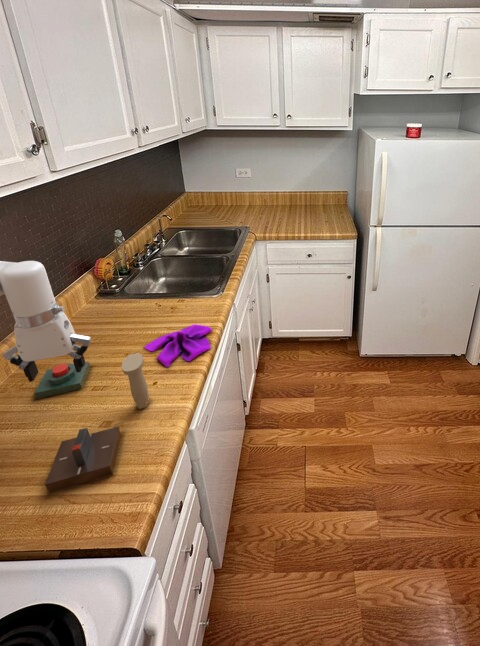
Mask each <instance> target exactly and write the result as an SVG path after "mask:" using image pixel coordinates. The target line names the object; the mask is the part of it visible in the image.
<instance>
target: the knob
mask: <svg viewBox="0 0 480 646" xmlns="http://www.w3.org/2000/svg"><path fill="white" fill-rule="evenodd" d="M90 434H91V433H90V431H89V429H88V427H84V428H80V429H78V433H77V435H76V437H75V438H76V441H75V444H74V447H73V449H72V454H73V457H74V459H75V462H76V464H77V466H78V465H81V464H85V462H86V459H87V456H88V452H89V449H90V446H91V442H92V440H91V437H90Z"/></svg>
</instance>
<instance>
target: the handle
mask: <svg viewBox="0 0 480 646" xmlns="http://www.w3.org/2000/svg"><path fill="white" fill-rule="evenodd" d="M144 364H145V359H144V355H142V353H140V352H135V353H131V354H129V355H127V356H126V357H125V358H124V359H123V360H122V362H121V371H122V373H123V374H124V375H126V376H127V377H128V382H129V388H130V393H131V396H132V399H133V402H134V404H135V406H136V407H137V408H138V409H139V410H141V409H144V408H147V406H148V405H149V404H150V396H149V395H150V393H149V387H148V384H147V381H146V378H145V374H144V371H143V366H144Z"/></svg>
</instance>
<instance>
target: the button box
mask: <svg viewBox="0 0 480 646" xmlns="http://www.w3.org/2000/svg"><path fill="white" fill-rule="evenodd" d="M66 364H67V365H68V368H69V372H68V373H66V374H65V375H63V376H61V377H54V375H53V372H52V370H53V369H54V368H49V369H46V370H45V373H44V375H43V376H42V378H41V380H40V382H39V383H38V385H37V387H36V389H35V391H34V393H33V394H34V396H35V399H36V400H38V399H42V398H47V397H51V396H56V395H60V394H66V393H69V392H74V391H79V390H82V389H83V387H84V384H85V382H86V379H87V376H88V374H89V372H90V369H91V365H90V362H89V361H85V365H84V366H83V367H82V370H81V372H79V373H77V372H76V369H75V366H74V363H71V362H68V363H66Z"/></svg>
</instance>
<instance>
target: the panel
mask: <svg viewBox="0 0 480 646" xmlns="http://www.w3.org/2000/svg"><path fill="white" fill-rule="evenodd" d="M89 434H90V437H91V440H92V442H91V446H90V449H89V452H88V456H87V459H86V462H85V464H81V465H78V466H77V464H76V462H75V459H74V457H73V454H72V449H73V447H74V444H75V441H76V438H77V437H73V438H69V439H66V440H62V441H61V442H60V444H59V447H58V450H57V452H56V455H55V457H54V460H53V463H52V465H51V467H50V471H49V473H48V476H47V478H46V481H45V483H44V486H45V488H46V490H47V492H48V494H52V493H56V492H59V491H62V490H65V489H69V488H72V487H76V486H80V485H82V484H85V483H86V484H87V483H89V482H93V481H97V480H98V479H99V480H100V479H102V478H106V477H110V476H112V475H113V474H114V470H115V466H116V461H117V456H118V452H119V447H120V442H121V438H122V433H121V429H120V426H114V427H111V428H107V429H103V430H100V431H96V432H91V433H89Z"/></svg>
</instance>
